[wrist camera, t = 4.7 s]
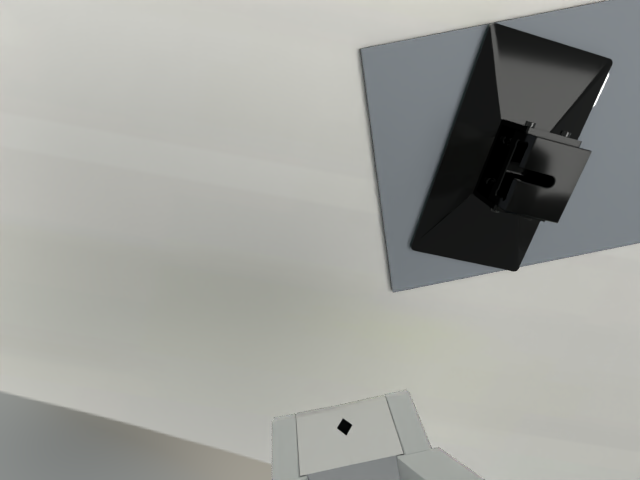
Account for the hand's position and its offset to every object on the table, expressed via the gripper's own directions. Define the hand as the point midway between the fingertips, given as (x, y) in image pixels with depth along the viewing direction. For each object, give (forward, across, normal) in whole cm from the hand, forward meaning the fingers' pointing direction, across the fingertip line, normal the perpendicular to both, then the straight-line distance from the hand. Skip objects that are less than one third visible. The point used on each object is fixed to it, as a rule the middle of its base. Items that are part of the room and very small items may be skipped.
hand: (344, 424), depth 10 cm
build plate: (+16, -11, 0) cm, 20 cm away
